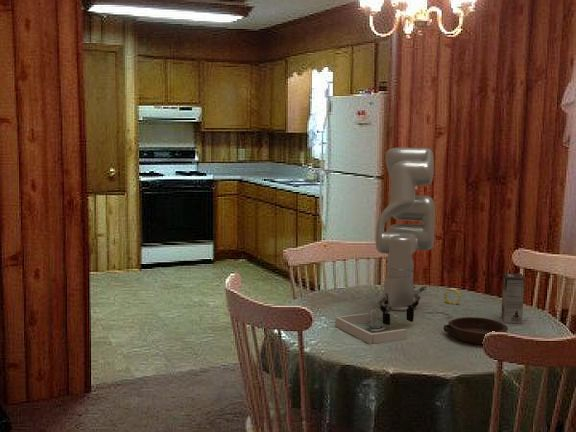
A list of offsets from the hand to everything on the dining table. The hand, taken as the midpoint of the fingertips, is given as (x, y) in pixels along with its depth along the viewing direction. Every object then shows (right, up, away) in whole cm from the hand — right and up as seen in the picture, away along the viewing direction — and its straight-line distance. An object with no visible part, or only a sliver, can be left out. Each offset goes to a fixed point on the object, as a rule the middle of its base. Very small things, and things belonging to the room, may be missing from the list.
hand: (398, 322), depth 221 cm
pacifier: (-8, -2, -3) cm, 9 cm away
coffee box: (+42, -1, +11) cm, 43 cm away
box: (-10, -2, -6) cm, 12 cm away
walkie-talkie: (+13, +4, +51) cm, 52 cm away
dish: (+24, -4, -11) cm, 26 cm away
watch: (+27, +2, +33) cm, 42 cm away
